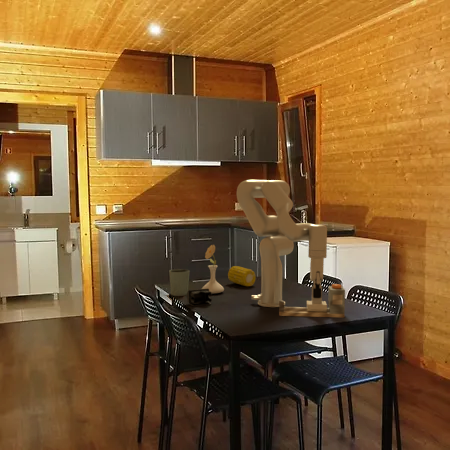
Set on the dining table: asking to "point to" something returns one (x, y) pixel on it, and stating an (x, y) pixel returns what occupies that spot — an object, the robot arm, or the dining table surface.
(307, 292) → the dining table surface
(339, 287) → the button
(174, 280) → the green tapered cup
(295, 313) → the rail base
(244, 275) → the food
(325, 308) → the carriage
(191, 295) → the end cap
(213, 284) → the flower in vase
